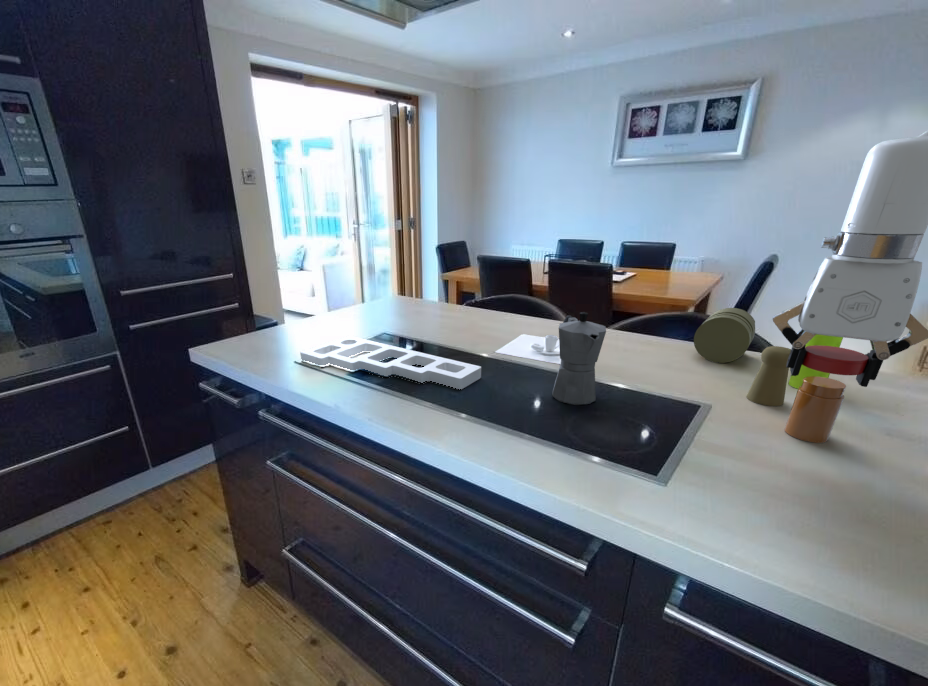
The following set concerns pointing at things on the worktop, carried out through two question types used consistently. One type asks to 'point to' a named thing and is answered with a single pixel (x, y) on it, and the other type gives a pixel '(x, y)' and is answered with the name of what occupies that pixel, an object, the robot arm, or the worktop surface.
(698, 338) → the piston
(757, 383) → the cork
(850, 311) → the robot arm
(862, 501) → the worktop surface
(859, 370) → the jam lid
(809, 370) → the soap dispenser
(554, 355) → the teacup and saucer
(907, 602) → the worktop surface
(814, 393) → the jam jar
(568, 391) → the coffeepot
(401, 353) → the holder
